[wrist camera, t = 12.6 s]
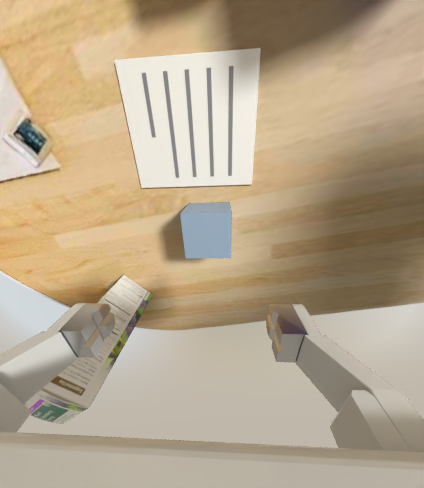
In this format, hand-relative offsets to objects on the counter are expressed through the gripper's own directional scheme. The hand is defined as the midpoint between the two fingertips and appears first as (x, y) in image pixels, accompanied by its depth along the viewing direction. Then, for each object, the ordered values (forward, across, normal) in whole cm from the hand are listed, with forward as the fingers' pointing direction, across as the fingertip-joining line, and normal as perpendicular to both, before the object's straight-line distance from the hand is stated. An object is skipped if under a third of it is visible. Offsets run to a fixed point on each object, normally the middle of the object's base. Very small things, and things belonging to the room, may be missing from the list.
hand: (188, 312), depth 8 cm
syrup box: (+15, +14, +12) cm, 23 cm away
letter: (+14, +1, -10) cm, 18 cm away
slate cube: (+14, 0, 0) cm, 14 cm away
